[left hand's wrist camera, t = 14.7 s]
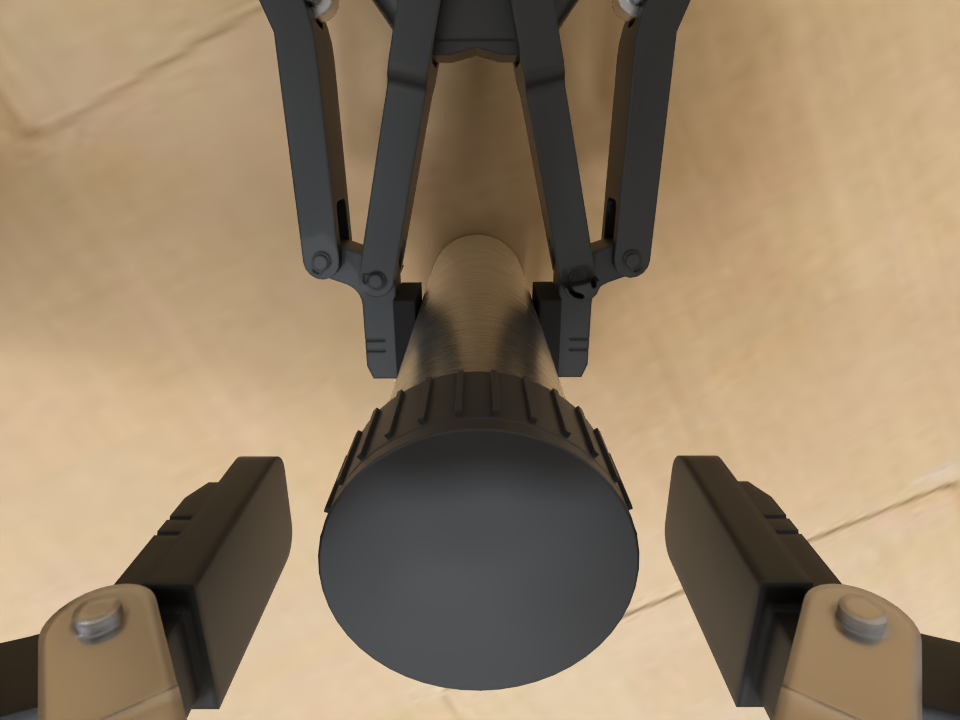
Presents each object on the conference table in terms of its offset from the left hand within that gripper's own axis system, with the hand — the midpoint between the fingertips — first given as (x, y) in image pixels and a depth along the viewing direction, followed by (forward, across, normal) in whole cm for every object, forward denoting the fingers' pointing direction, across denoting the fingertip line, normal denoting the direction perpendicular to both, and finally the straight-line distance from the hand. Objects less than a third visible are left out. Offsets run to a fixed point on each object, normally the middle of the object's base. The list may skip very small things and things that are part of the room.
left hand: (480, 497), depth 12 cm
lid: (-2, 0, 0) cm, 2 cm away
